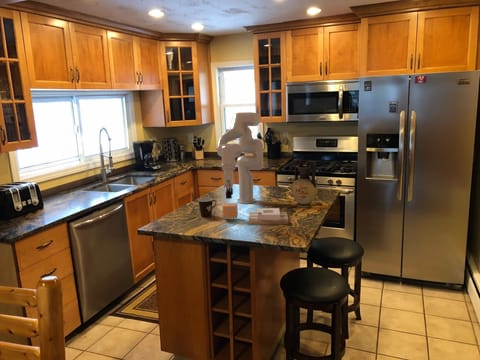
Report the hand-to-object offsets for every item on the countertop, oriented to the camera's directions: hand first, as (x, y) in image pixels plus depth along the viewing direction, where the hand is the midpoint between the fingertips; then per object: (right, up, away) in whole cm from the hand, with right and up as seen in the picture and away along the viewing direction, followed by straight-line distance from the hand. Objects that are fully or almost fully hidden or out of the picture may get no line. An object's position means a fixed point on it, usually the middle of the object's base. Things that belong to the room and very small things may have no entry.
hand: (229, 196), depth 223 cm
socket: (+22, -12, +1) cm, 25 cm away
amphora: (+48, -7, +29) cm, 57 cm away
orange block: (+1, -14, +3) cm, 14 cm away
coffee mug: (-13, -12, +13) cm, 22 cm away
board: (+22, -13, +1) cm, 26 cm away
